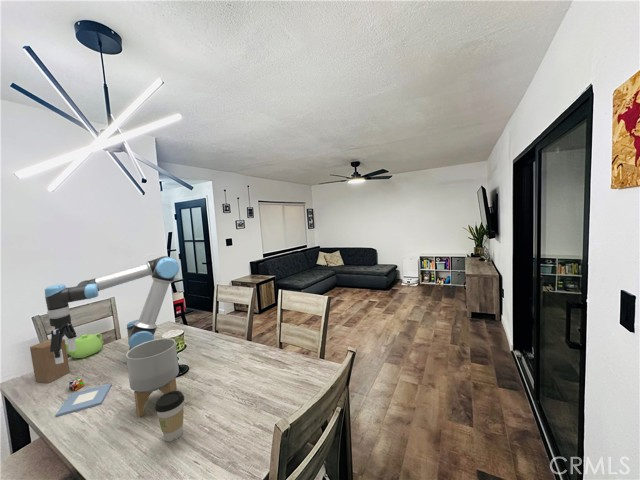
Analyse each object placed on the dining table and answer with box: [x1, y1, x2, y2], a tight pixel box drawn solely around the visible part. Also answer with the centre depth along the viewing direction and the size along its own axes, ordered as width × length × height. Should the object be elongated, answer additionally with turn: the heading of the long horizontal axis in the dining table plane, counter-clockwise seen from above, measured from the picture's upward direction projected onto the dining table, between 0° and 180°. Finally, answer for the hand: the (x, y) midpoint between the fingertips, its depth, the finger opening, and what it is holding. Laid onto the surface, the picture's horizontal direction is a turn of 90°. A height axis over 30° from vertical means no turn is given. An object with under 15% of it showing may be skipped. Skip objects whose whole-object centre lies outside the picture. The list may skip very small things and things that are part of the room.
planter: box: [125, 337, 180, 418], centre depth 119 cm, size 19×19×26 cm
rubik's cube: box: [68, 377, 85, 392], centre depth 134 cm, size 4×5×5 cm
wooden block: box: [29, 338, 71, 384], centre depth 145 cm, size 10×10×20 cm
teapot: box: [65, 332, 104, 359], centre depth 169 cm, size 22×15×13 cm
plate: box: [54, 382, 113, 418], centre depth 125 cm, size 16×16×1 cm
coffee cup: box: [154, 390, 185, 442], centre depth 100 cm, size 10×10×15 cm
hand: (66, 356), depth 133 cm, fingers open, 13 cm apart
